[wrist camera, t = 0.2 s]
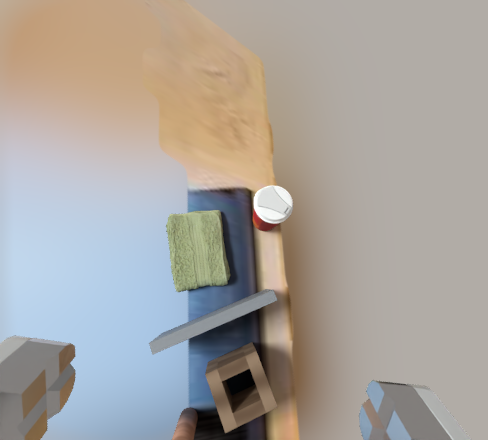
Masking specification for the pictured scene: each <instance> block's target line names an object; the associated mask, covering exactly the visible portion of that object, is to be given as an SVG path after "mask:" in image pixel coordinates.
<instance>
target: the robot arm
mask: <svg viewBox="0 0 488 440" xmlns="http://www.w3.org/2000/svg"><path fill="white" fill-rule="evenodd" d="M74 357H75V346H74V345H73V344H71V343H64V342H57V341H50V340H44V339H37V338H27V337H21V336H12V337H9V338H7V339H5V340H4V341H3V342H1V343H0V440H40V439H41V438H42V436H43V435H44V434H45V432H46V431H47V420H48V419H49V418H51V417H52V416H54V415H55V414H57V413H59V412H60V411H61V409H62V408H63V406H64V405H65V403H66V402H67V400H68V398H69V396H70V393H71V392H72V389H73V385H74V382H75V369H74V368H73V367H72V365H71V364H70V362H71V361H72V360H73V359H74ZM366 392H367V394H368V396H369V399H368V400H367V401H366V402H364V403H363V404H362V406H361V410H360V413H359V420H360V429H361V433H362V437H363V439H364V440H471V438H470V437H469V436H468V434H467V433H466V432H465V431H464V429H463V428H462V427H461V426H460V424H459V423H458V422H457V421H456V420H455V418H454V417H453V416H452V415H451V413H450V412H449V411H448V409H447V408H446V407H445V406H444V404H443V403H442V402H441V401H440V399H439V398H438V397H437V396H436V395H435V393H434V392H433V391H432V390H431V389H430V388H428V387H427V386H421V385H411V384H407V385H406V384H400V383H391V382H382V381H374V380H373V381H371V382H370V383H369V385H368V387H367V390H366Z"/></svg>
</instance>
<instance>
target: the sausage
mask: <svg viewBox="0 0 488 440" xmlns="http://www.w3.org/2000/svg"><path fill="white" fill-rule="evenodd" d="M197 419H198V415H197V412H196V411H195V410H194V409H193V408H186V409H184V410H183V411H182V413H181V415H180V418H179V421H178V424H177V427H176V430H175V433H174V436H173V438H172V440H193V439H194V434H195V429H196V424H197Z"/></svg>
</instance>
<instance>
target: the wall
mask: <svg viewBox="0 0 488 440" xmlns="http://www.w3.org/2000/svg"><path fill="white" fill-rule="evenodd" d="M275 301H277V298H276V295H275V293H274V291H273V290H267V289H265V290H263V291H261V292H258V293H256V294H254V295H251V296H249V297H246V298H244V299H242V300H239V301H237V302H235V303H232V304H230V305H228V306H225V307H223V308H221V309H218V310H216V311H213V312H211V313H209V314H206V315H204V316H202V317H199V318H197V319H195V320H192V321H190V322H188V323H185V324H183V325H180V326H178V327H176V328H173V329H171V330H169V331H166V332H164V333H162V334H161V335H159V336H158V337H157V338H155V339H154V340H153V341H151V342H150V343H149V344H150V348H151V351H152V354H155V353H157V352H160V351H162V350H164V349H167V348H169V347H171V346H173V345H176V344H178V343H180V342H183V341H185V340H187V339H190V338H192V337H194V336H197V335H199V334H201V333H203V332H206V331H208V330H210V329H213V328H215V327H217V326H220V325H222V324H224V323H226V322H229V321H231V320H233V319H236V318H238V317H240V316H243V315H245V314H247V313H249V312H252V311H254V310H256V309H259V308H261V307H263V306H266V305H268V304H270V303H272V302H275Z"/></svg>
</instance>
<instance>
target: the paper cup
mask: <svg viewBox="0 0 488 440" xmlns="http://www.w3.org/2000/svg"><path fill="white" fill-rule="evenodd" d="M292 210H293V201H292V198H291V196H290V195H289V193H288V192H287V191H286V190H285V189H284V188H281V187H279V186H267V187H264V188H262V189H261V190H259V191H258V192H257V193H256V195H255V197H254V213H253V223H254V225H255V227H256V228H257V229H259V230H261V231H268V230H271V229H272V228H274V227H275V226H276V225H278V224H279V223H281V222H283V221H285V220H286V219H287V218H288V217H289V216H290V215H291V213H292Z"/></svg>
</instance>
